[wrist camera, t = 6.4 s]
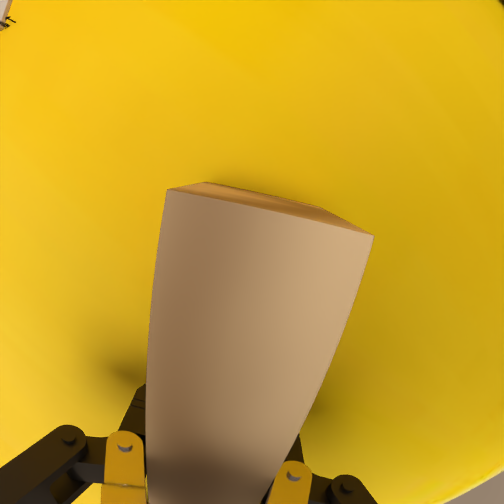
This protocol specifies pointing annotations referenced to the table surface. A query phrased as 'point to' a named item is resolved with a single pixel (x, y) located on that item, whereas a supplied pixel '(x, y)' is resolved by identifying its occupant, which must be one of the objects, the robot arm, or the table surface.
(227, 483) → the slat
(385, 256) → the table surface
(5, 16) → the baseboard molding
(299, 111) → the table surface
